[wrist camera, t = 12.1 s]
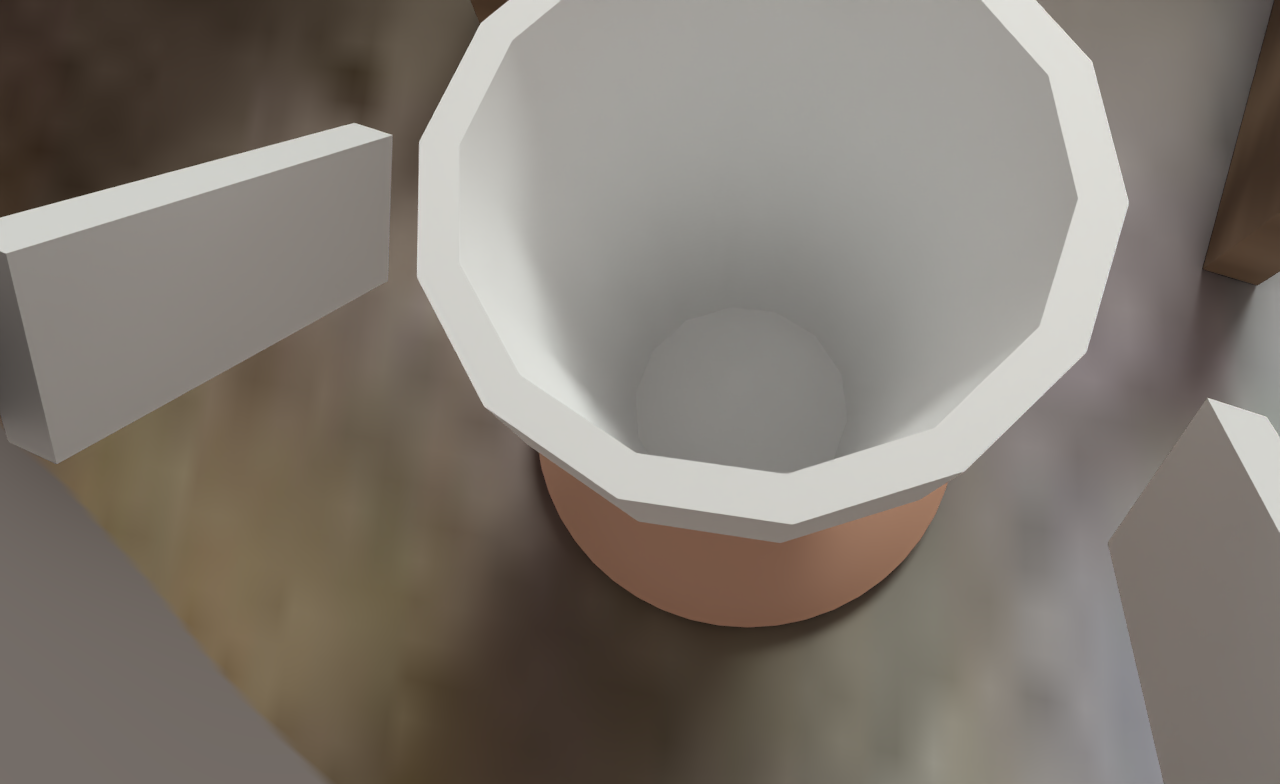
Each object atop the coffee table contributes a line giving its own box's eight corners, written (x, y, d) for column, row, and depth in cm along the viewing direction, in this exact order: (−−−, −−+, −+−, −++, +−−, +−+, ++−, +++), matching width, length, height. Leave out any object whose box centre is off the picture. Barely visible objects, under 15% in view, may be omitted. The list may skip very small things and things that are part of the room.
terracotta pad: (632, 186, 26) (629, 176, 26) (1001, 303, 24) (1008, 296, 23) (475, 529, 24) (469, 527, 23) (872, 699, 21) (876, 701, 21)
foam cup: (745, 205, 25) (762, -206, 13) (978, 413, 23) (1284, 157, 10) (515, 409, 24) (285, 181, 12) (732, 652, 21) (736, 693, 9)
